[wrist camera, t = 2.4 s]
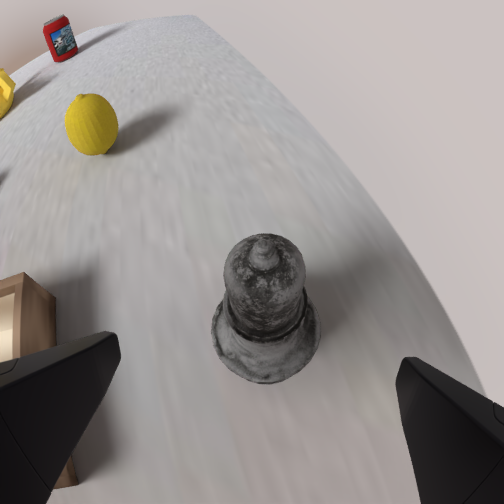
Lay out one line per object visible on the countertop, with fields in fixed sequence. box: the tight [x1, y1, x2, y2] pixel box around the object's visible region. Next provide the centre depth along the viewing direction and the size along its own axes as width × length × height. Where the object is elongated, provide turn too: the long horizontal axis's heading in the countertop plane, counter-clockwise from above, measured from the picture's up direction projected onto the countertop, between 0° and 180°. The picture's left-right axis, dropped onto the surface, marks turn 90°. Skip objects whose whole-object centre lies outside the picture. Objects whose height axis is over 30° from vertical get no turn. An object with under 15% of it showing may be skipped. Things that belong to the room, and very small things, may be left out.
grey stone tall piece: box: [211, 234, 321, 384], centre depth 14 cm, size 6×6×12 cm
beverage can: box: [43, 15, 78, 62], centre depth 49 cm, size 7×7×12 cm
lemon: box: [65, 94, 118, 155], centre depth 27 cm, size 6×6×8 cm
